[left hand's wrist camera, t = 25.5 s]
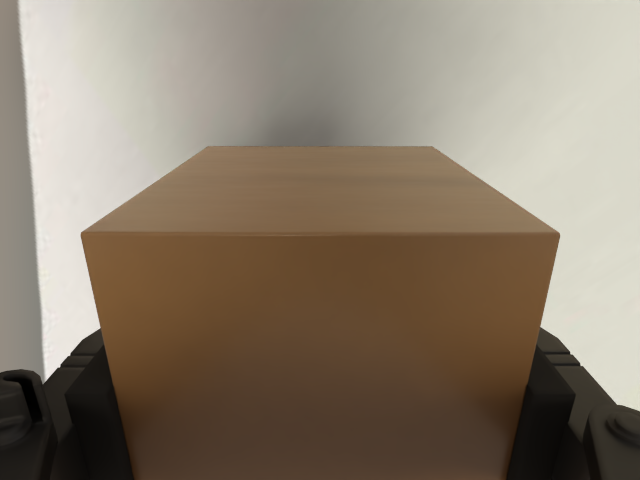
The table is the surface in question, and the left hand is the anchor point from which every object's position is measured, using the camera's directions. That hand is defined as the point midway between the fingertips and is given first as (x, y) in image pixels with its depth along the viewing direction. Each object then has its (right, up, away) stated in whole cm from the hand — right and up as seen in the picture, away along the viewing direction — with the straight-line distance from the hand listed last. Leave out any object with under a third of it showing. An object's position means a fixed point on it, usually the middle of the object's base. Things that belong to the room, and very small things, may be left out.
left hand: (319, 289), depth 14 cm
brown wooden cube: (0, +1, +2) cm, 2 cm away
